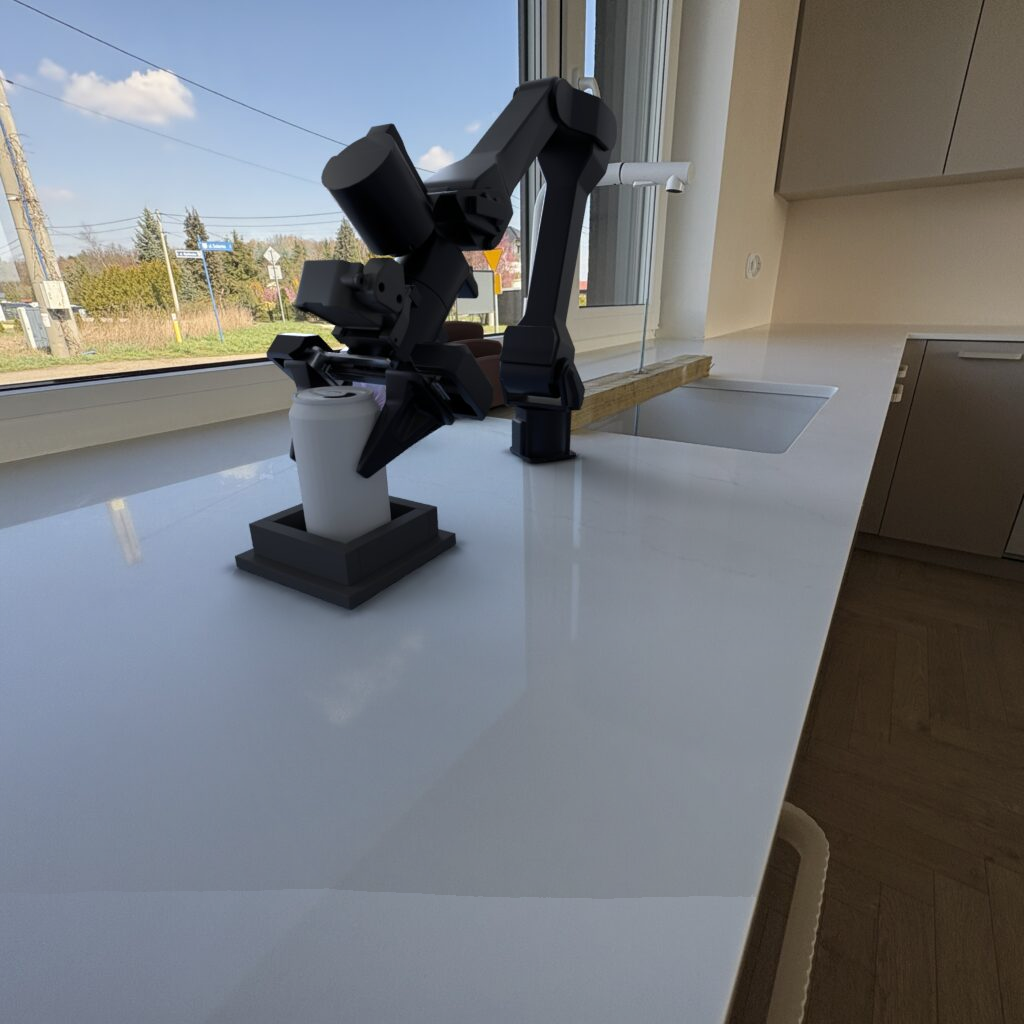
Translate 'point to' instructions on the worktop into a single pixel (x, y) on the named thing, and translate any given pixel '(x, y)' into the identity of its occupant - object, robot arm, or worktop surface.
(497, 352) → the letter holder
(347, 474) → the beverage can
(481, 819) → the worktop surface
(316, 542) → the socket pad
